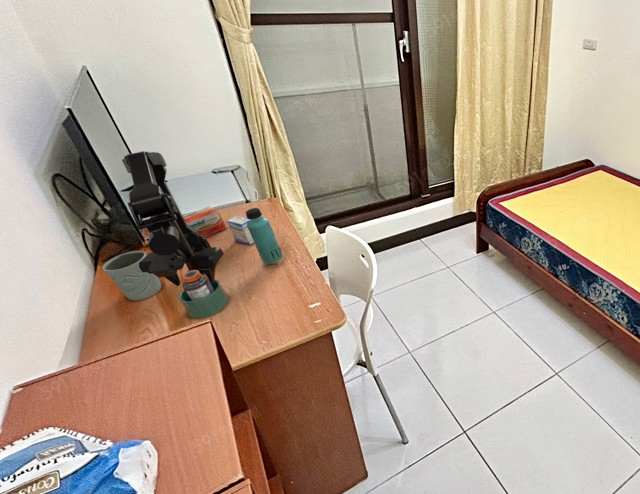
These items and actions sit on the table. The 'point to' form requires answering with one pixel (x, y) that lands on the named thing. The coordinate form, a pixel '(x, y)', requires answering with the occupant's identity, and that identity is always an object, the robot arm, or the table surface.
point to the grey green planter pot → (132, 276)
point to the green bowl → (205, 302)
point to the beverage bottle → (263, 236)
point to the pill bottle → (196, 285)
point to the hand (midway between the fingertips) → (195, 283)
